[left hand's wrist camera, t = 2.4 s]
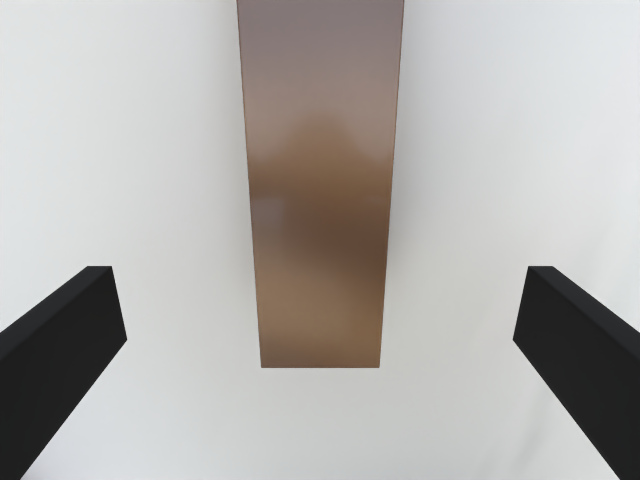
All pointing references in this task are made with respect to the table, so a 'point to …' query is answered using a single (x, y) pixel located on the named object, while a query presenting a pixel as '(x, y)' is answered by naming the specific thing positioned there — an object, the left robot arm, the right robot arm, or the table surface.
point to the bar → (320, 173)
